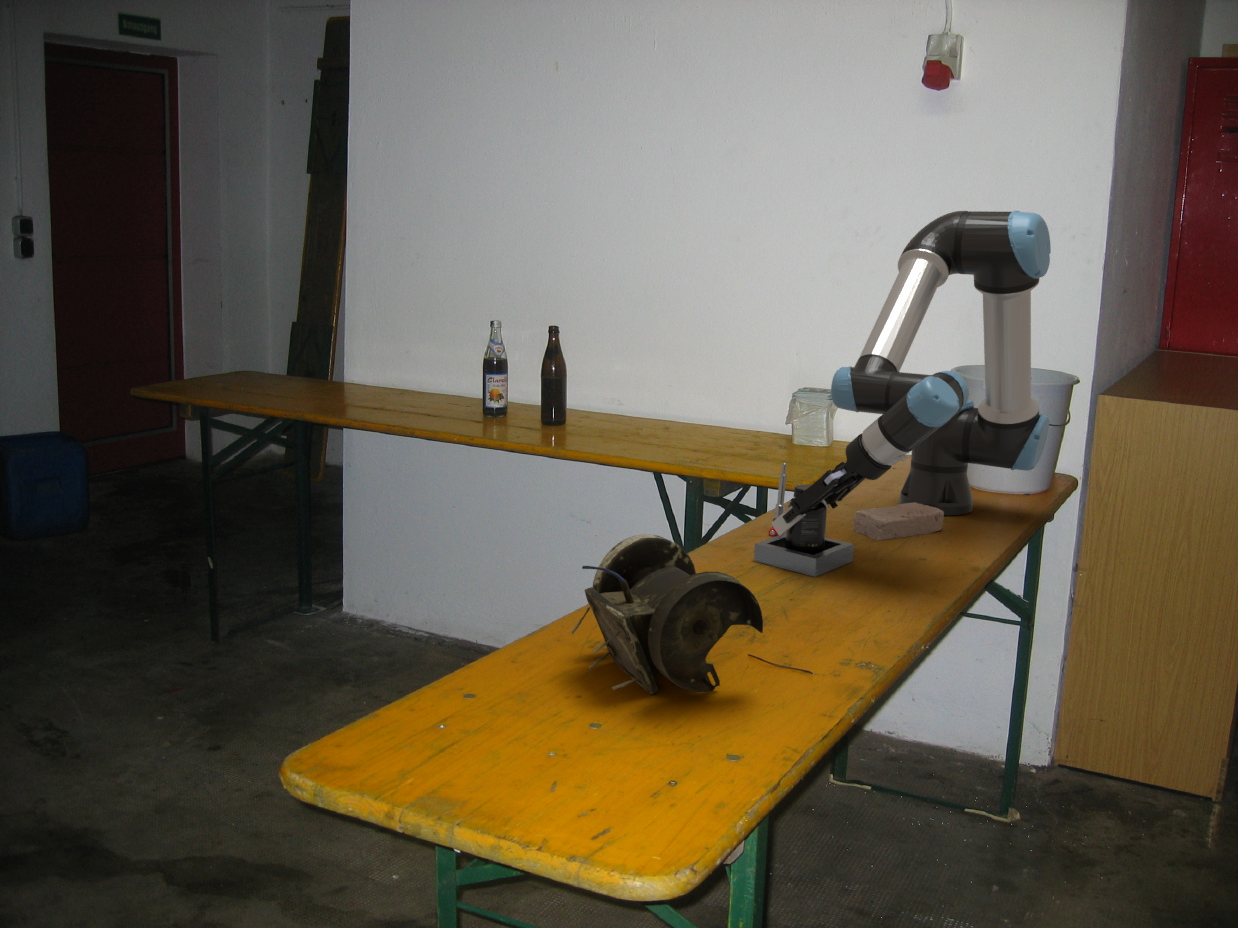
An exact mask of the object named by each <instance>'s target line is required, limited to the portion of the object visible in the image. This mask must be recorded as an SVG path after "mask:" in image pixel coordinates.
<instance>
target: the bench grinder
mask: <svg viewBox="0 0 1238 928" xmlns="http://www.w3.org/2000/svg"><path fill="white" fill-rule="evenodd" d="M588 569H589V570H596V572H595V575H594V578H593V581H592V586H591V587H588V588H585V589H584V593H585V596H586V601H587V603H588V605H589V606H588V608H587V609H586V611H585V613H584V614H583V616H582V617H581V618H580V619H579V620H578V621H577V623H576V624H575V626H574V627H573V629H572V630H571V631H570V633H571V635H574V634H575V632H576V631H577V629H578V628H579V626H580V625H581V624H582V621H583V620H584V618H585V617H586V615H587V614H588V612H589V611H590V609H591V611H592V613H593V615H594V618H595V620H596V622H597V624H598V628H599V630H600V632H601V634H602V637H603V640H604V642H603V643H602V644H600V645H599V646H598V647H597V648H596V649H595V648H594V650H593V651H592V653H593V654H594V655H595V654H596V653H598V652H599V651H600V650H602V649H603V648H604V647H606V649H607V651H608V652H606V653H605V654H604V655H602V656H601V657H599V658H598V659H596V660H595V661H594V662H593V663H592V664H590V665H589V666H588V668H589V670H593V668H594V667H596V665H598V664H600V662H601V661H604V660H603V659H604V658H606V657H607V656H609V655H610V657H611V660H612V661H613V663H614V664H615V665H616V666H617V667H618V668H620V669H621V670H622V671H623V672H624V673H626V674H627V675H628V676H629V677H630V678H631V679H630V680H628V681H625V682H621V683H620V684H617V685H614V686H612V687H611V689H612V691H615V690H618V689H620V688H624V687H625V686H628V685H630V684H632V683H633V682H635V683H637V684H638V685H640V687H642V688H643V689H644V690H645V691H646V692H647V693H648V694H650V695H655V693H656V692H657V691H658V690H659V688H658V685H657V683H656V678H657V677H658V676H659V675H660V674H661V676H663V677H664V678H666V679H667V680H669V681H670V682H672V683H673V684H674V685H676V686H678V687H679V688H681V689H683V690H686V691H688V692H694V693H708V692H714V691H715V689H716V688H717V687H719V686H721V682H720V681H721V679H720V678H719V676H718V673H717V671H716V668H715V666H714V664H713V663H708V662H707V660H706V659H707V657H708V655H709V653H710V651H712V648H714V646H715V645H716V644H717V643H718V642H719V641H720V639H722V637H723V636H724V635H725V634H726V633H727V631H728V630H729V629H730V628H731V627H732V626H750V627H752V628H754V629H755V630H757V632H759V633H760V634H763V633H764V620H763V612H762V609H761V606H760V602H758V599H757V598H756V596H755V595H754V594H753V592H752V591H751V590H750V589H749V588H748V587H746V585H744V584H742V583H741V582H740V581H739V580H738V579H736V578H735V576H734V577H733V576H732V575H730V574H728V573H725V572H724V573H723V572H720V571H708V570H707V571H701V572H696V568H695V564H694V562H693V560H692V559H691V557H690V554H689V553H687V552H686V550H684V549H683V548H682V547H681V545H679V544H678V543H677V542H675V541H672V540H671V539H670V540H669V539H667V538H665V537H663V536H660V535H656V534H647V533H646V534H645V533H644V534H636V535H635V534H634V535H633V536H630V537H628V538H625V539H623V540H621V541H619V543H617V544H616V545H614V546H613V547H612V548H611V549H610V550H609V551H608V552H607V553H606V554H605V556H604V557H603V559H602V560H601V562H600V564H599V565H598V566H593V565H583V566H582V570H588ZM708 674H711V677H712V679H713V681H714V684H712V681H711V680H710V678H709V677H710V676H709V675H708Z"/></svg>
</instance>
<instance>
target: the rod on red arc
mask: <svg viewBox="0 0 1238 928" xmlns="http://www.w3.org/2000/svg"><path fill="white" fill-rule="evenodd" d="M787 464H788V463H787V462H782V463H781V473H780V474H779V483H778V491H777V501H776V504H775V510H774V518H772V522H773V521H774V520H775V519H777V518H778V517H779V516H780V515H781V514H782V513H784V512H785V508H786V507H785V495H786V488H787V487H786V485H787V478H788V477H787V476H788V474H787V466H788V465H787ZM771 526H772V525H771ZM785 533H786V532H785ZM768 535H769V536H770V537H775V536H778V535H779V534H778V533H777V531H776V530H775V529H774V527H773V526H772V527H771V528H770V529H769V530H768Z"/></svg>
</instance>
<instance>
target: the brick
mask: <svg viewBox="0 0 1238 928" xmlns="http://www.w3.org/2000/svg"><path fill="white" fill-rule="evenodd" d="M944 516H945V515H944V512H943V511H942V510H940V509H938V508H935V507H930V506H928V505H923V504H918V503H916V502H914V503H905V504H899V503H898V504H897V505H893V506H883V507H874V508H872V507H871V508H867V509H866V508H865V509H862V510H860V509H859V510H856V511H855V515H854V518H853V525H852V528H853V529H852V530H853V532H856V533H858V534H861V535H863V536H865V537H868V538H870V539H873V540H874V541H875V540H876V541H884V540H892V539H896V538H897V539H898V538H904V537H913V536H920V535H928V534H932V533H935V532H938V531H941V530H942V529H943V525H944Z"/></svg>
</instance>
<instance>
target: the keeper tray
mask: <svg viewBox="0 0 1238 928" xmlns="http://www.w3.org/2000/svg"><path fill="white" fill-rule="evenodd" d="M785 540H786V533H784V534H783V535H781V536H779V535H775V536H771V537H770V538H767V539H763V540H761V541H758V542H756V543H754V550H753V551H754V553H753V554H754V556H753V562H755V563H760V564H765V565H768V566H772V567H775V568H779V569H784V570H787V571H792V572H796V573H799V574H803V575H807V576H811V577H818V576H821V575H824V574H825V573H828V572H830V571H833V570H835V569H838V568H840V567H842V566H844V565H847V564H850V563H851V562H853V560H854V559H853V557H854V545H855V544H854V543H850V542H846V541H842V540H838V539H833V538H829V537H825V547H824V551H823V552H820V553H817V554H815V555H811V554H807V553H803V552H799V551H795V550H791V549H786V548H785Z"/></svg>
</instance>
